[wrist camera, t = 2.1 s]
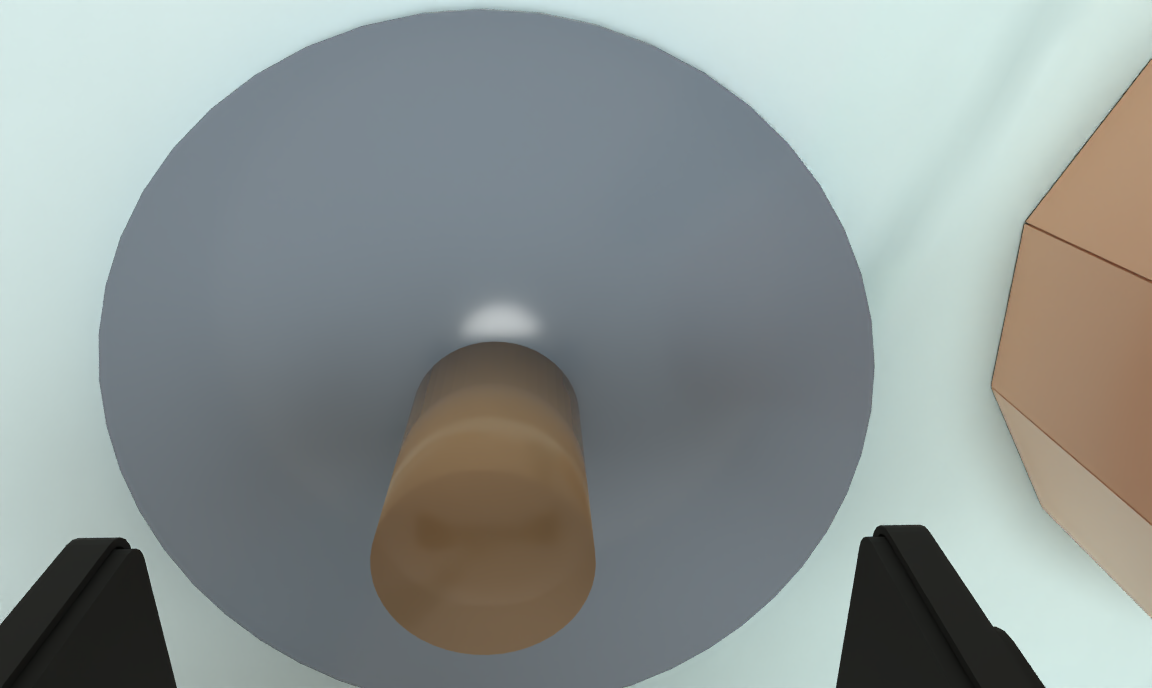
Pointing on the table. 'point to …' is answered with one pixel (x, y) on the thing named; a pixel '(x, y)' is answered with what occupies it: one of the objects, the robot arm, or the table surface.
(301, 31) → the table surface
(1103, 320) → the bowl
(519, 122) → the lid
